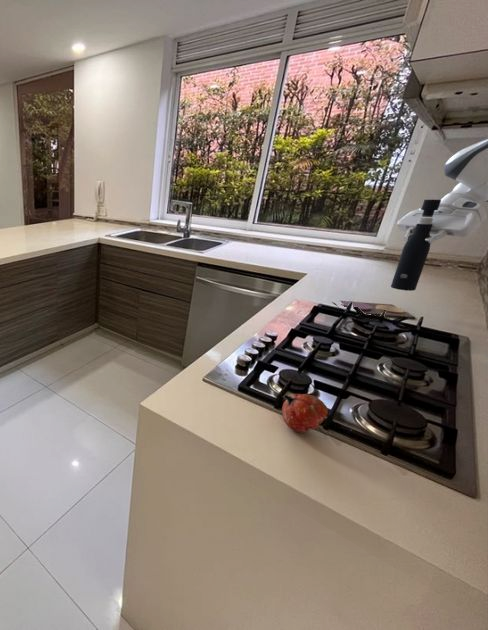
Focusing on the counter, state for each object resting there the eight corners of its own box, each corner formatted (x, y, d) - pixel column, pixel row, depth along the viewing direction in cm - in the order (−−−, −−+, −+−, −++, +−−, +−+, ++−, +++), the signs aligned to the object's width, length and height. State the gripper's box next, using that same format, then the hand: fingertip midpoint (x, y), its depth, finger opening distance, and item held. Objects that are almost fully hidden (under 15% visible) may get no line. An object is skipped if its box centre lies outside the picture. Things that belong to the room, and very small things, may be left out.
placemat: (391, 306, 130) (392, 303, 130) (414, 319, 118) (415, 315, 117) (331, 302, 136) (332, 299, 135) (346, 313, 123) (347, 310, 123)
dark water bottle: (410, 286, 122) (440, 199, 112) (418, 291, 116) (451, 199, 106) (387, 285, 124) (415, 199, 114) (394, 289, 119) (424, 200, 109)
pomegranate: (312, 429, 68) (273, 391, 70) (348, 416, 63) (305, 375, 65) (305, 453, 63) (264, 411, 66) (343, 441, 58) (297, 396, 60)
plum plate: (364, 304, 130) (365, 302, 130) (376, 311, 122) (377, 309, 122) (337, 302, 133) (337, 300, 133) (347, 309, 125) (348, 307, 125)
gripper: (413, 201, 121) (381, 230, 123) (488, 204, 102) (450, 238, 104) (419, 214, 123) (388, 242, 125) (493, 219, 104) (455, 252, 106)
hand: (416, 240), depth 115 cm, fingers closed on dark water bottle, 5 cm apart
